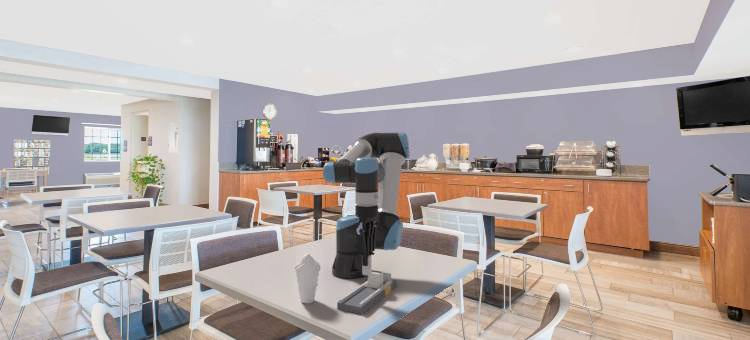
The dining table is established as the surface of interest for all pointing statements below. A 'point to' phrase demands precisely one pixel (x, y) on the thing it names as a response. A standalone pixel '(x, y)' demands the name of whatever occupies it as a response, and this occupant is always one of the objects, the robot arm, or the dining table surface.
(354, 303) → the slider track
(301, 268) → the soft serve ice cream cone
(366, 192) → the robot arm
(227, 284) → the dining table surface
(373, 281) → the fader tab
